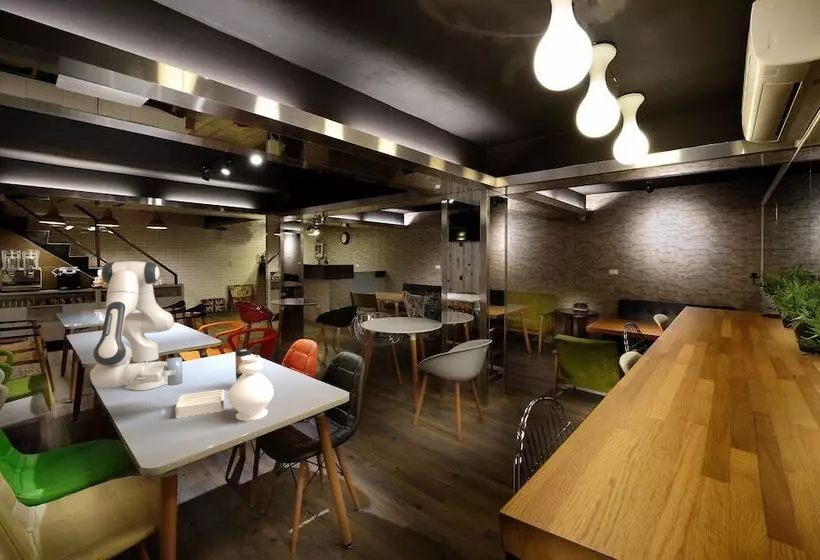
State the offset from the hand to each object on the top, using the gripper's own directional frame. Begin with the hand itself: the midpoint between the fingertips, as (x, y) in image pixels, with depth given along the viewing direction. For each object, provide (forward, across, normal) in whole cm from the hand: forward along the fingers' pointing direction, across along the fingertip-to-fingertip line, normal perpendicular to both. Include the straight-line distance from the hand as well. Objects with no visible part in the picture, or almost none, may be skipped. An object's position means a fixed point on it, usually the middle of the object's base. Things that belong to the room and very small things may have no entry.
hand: (177, 369), depth 166 cm
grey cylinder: (-1, 0, +6) cm, 6 cm away
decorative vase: (+29, -18, +18) cm, 39 cm away
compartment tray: (+9, -2, +18) cm, 20 cm away
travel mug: (+27, +20, +18) cm, 38 cm away
